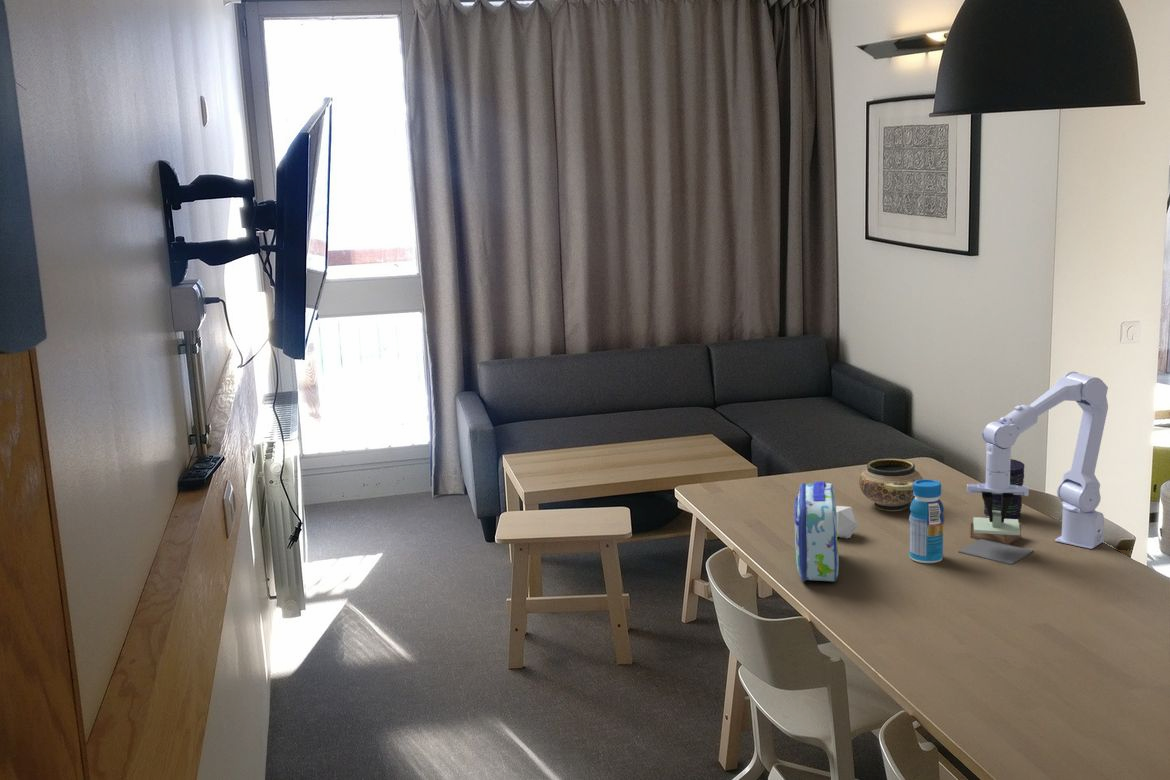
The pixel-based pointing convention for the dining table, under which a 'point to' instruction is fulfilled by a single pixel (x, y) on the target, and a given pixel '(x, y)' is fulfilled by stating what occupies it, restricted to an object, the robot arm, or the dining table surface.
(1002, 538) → the box
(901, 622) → the dining table surface
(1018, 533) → the lid
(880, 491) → the ceramic bowl
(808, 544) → the lunch box
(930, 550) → the beverage bottle
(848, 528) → the die
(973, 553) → the mat
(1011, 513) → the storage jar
